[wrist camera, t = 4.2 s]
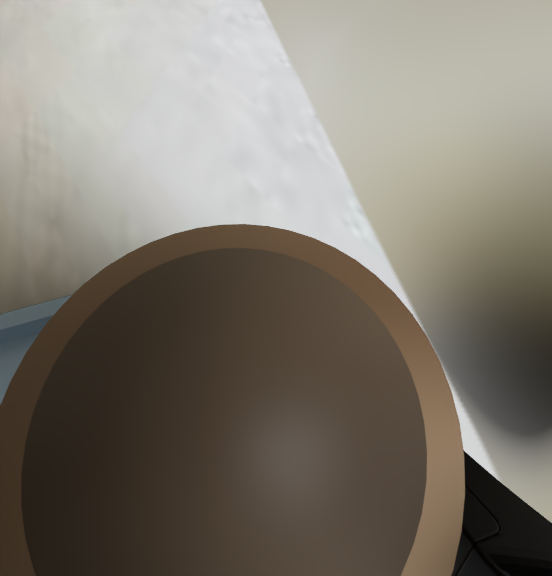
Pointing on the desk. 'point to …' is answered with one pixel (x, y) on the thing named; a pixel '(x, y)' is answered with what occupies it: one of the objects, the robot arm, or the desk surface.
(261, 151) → the desk surface
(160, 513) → the cup
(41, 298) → the desk surface
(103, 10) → the desk surface
